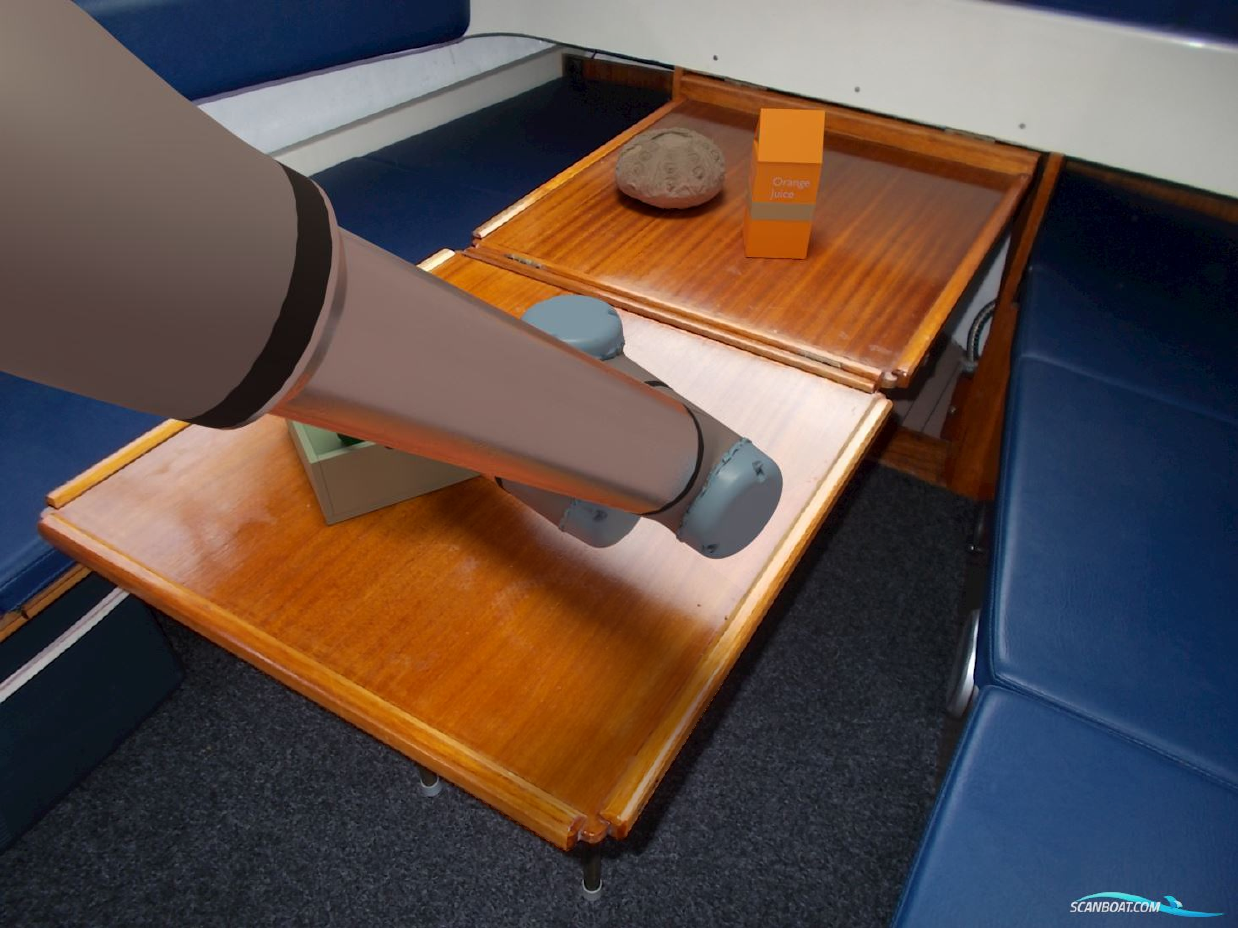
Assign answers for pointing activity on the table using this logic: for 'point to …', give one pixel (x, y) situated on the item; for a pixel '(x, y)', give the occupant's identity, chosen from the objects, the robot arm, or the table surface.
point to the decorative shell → (670, 168)
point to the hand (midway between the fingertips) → (337, 334)
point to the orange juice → (783, 182)
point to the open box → (365, 473)
